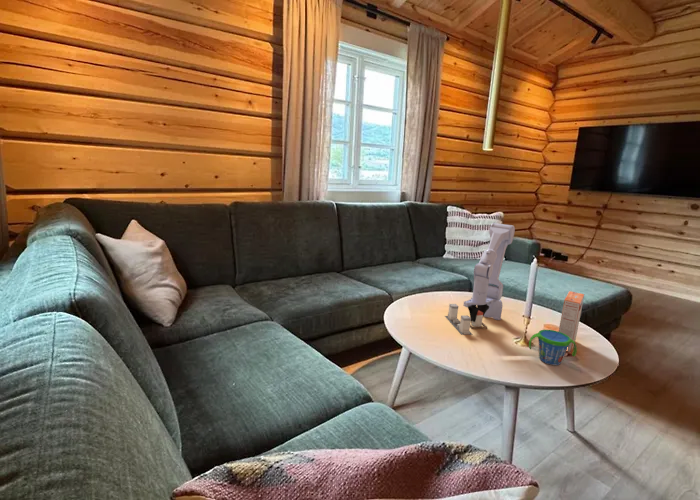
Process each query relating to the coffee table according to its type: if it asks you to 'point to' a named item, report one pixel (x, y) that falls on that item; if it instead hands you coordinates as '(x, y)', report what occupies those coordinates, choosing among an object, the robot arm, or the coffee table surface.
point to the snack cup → (552, 346)
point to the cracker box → (571, 316)
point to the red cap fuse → (478, 319)
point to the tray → (479, 327)
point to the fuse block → (458, 326)
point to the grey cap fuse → (453, 311)
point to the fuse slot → (465, 323)
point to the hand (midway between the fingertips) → (475, 320)
